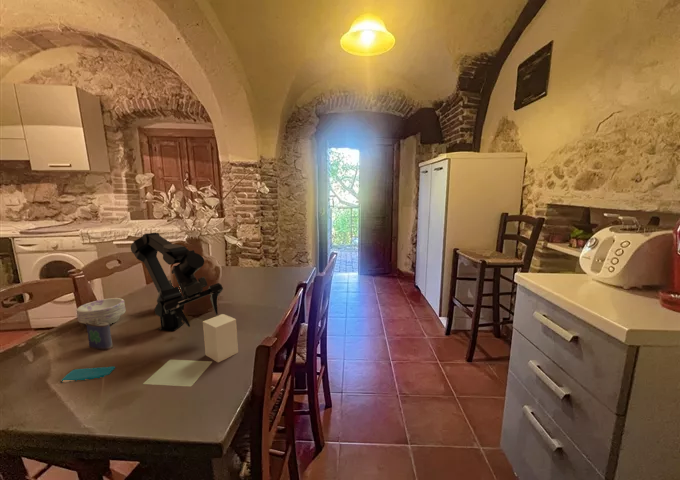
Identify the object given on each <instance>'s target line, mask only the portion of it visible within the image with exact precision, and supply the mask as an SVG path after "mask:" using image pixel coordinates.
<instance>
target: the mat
mask: <svg viewBox="0 0 680 480" xmlns="http://www.w3.org/2000/svg"><path fill="white" fill-rule="evenodd" d="M213 361H214V360H213ZM213 361H212V360H211V361H210V360H209V361H208V360H191V359H190V360H187V359H169V360H168V361H166V362H165V363H164V364H163V365H162V366H161V367H160V368H159V369H158V370H156V371H155V372H154V373H153V374H152V375H151V376H150V377H148V379H146V381H144V382H143V383H142V385H153V386H168V387H169V386H171V387H172V386H174V387H189V388H191V387H192V386H193V385H194V384H195V382H197V380H198V379H199V378H200V377H201V376H202V375H203V374H204V373H205V371H206V370H207V369H208V368H209V367H210V366H211V364H212V363H213Z"/></svg>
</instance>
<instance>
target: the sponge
mask: <svg viewBox="0 0 680 480" xmlns="http://www.w3.org/2000/svg"><path fill="white" fill-rule="evenodd" d="M115 369H116V366H108V367H106V366H102V367H87V368H75V369H72V370H71V371H70V372H68V373H67V374H66V375H65V376H64V377H63V378H62V379H61V380H62V381H63V380H76V381H77V380H84V381H86V380H85V379H89V380H95V379H94V378H98V379H101V378H100V377H102V378H105V376H110V374H112V372H113V371H114V370H115Z"/></svg>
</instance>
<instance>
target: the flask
mask: <svg viewBox="0 0 680 480" xmlns="http://www.w3.org/2000/svg"><path fill="white" fill-rule="evenodd" d="M99 319H100V318H94V319H92V320H91V321H87V322H86V324H85V325H86V330H87V331H86V332H87V340H88V348H90V349H93V350H98V351H99V350H100V351H108V350H109V351H110V350H111V349H113V345H114V344H113V340H112V334H111V328H110V325H111V324H110V323H104V322H99V321H100V320H99Z"/></svg>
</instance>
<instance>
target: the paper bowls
mask: <svg viewBox="0 0 680 480" xmlns="http://www.w3.org/2000/svg"><path fill="white" fill-rule="evenodd" d="M75 311H76V317H77V321H78V323H80V324H85V325H86V322H87V321H91V320H92V319H94V318H100V319H99V320H100V321H99V322H104V323H110V325H112V323H113V324H114V323H117V322H118V321H119V320H120V319H121V316H122V315H124V314H125V313H126V303H125V299H123V298H119V297H114V298H111V297H110V298H104V299H97V300H94V301H90V302H87V303H84V304H82V305H80V306H78V307H77V308H76V310H75Z"/></svg>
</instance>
